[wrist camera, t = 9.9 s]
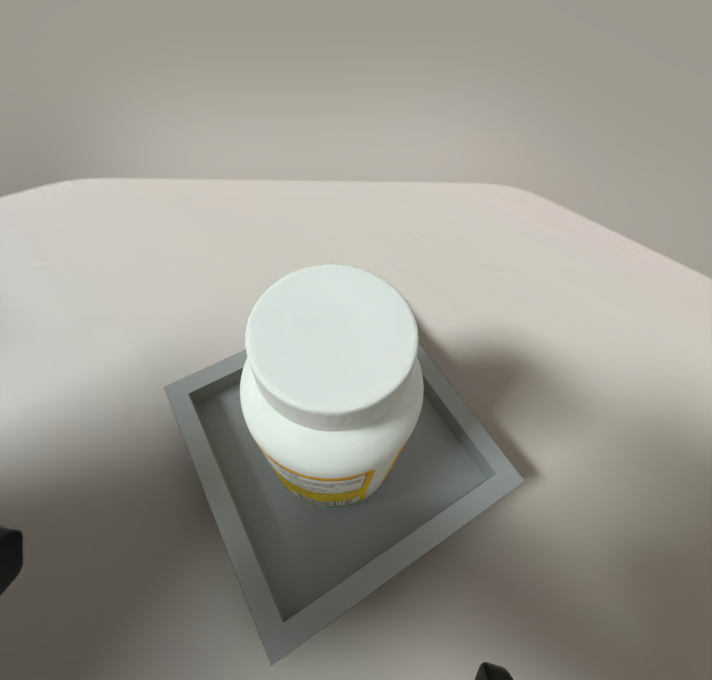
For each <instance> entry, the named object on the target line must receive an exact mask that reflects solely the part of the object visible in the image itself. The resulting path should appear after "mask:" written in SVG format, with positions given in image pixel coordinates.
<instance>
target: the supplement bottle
mask: <svg viewBox="0 0 712 680" xmlns="http://www.w3.org/2000/svg"><path fill="white" fill-rule="evenodd" d="M418 343H419V341H418V327H417V323H416V320H415V317H414V315H413V312H412V310H411V308H410V306H409V304H408V303H407V301H406V300H405V299H404V297H403V296H402V295H401V294H400V292H398V291H397V290H396V289H395V288H394V287H393V286H392V285H391V284H390V283H388V282H387V281H385V280H384V279H382V278H381V277H379V276H377V275H375V274H373V273H371V272H369V271H366V270H363V269H361V268H358V267H354V266H347V265H338V264H326V265H316V266H311V267H307V268H303V269H300V270H297V271H295V272H292V273H290V274H288V275H286V276H284V277H283V278H281V279H280V280H278V281H277V282H275V283H274V284H273V285H272V286H270V287H269V288H268V289H267V290H266V291H265V292H264V293H263V294H262V296H261V297H260V298H259V300H258V301H257V303H256V304H255V306H254V308H253V310H252V312H251V314H250V316H249V319H248V323H247V327H246V334H245V345H246V353H247V359H246V361H245V364H244V367H243V371H242V375H241V381H240V400H241V407H242V412H243V416H244V419H245V422H246V424H247V426H248V429H249V431H250V433H251V435H252V436H253V438H254V440H255V441H256V443H257V444H258V446H259V448H260V449H261V451H262V452H263V454H264V455H265V457H266V459H267V460H268V462H269V463H270V465H271V467H272V468H273V470H274V471H275V473H276V474H277V476H278V478H279V479H280V481H281V482H282V484H283V485H284V486H285V487H286V488H287V490H288V491H289V492H291V493H292V494H293V495H294V496H295V497H297V498H298V499H300V500H301V501H303V502H305V503H307V504H310V505H313V506H316V507H320V508H328V509H336V508H344V507H348V506H351V505H354V504H357V503H359V502H361V501H363V500H364V499H366V498H367V497H369V496H370V495H371V494H373V493H374V492H375V491H376V490H377V489H378V488H379V486H380V485H381V484H382V483H383V481H384V480H385V478H386V477H387V475H388V473H389V471H390V470H391V468H392V466H393V464H394V463H395V461H396V459H397V457H398V455H399V454H400V452H401V450H402V449H403V447H404V445H405V444H406V442H407V441H408V439H409V437H410V436H411V434H412V432H413V430H414V428H415V426H416V423H417V421H418V418H419V415H420V412H421V408H422V403H423V391H424V386H423V376H422V371H421V367H420V363H419V360H418V358H417V353H418Z"/></svg>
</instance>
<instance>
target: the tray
mask: <svg viewBox="0 0 712 680" xmlns="http://www.w3.org/2000/svg"><path fill="white" fill-rule="evenodd" d="M417 358H418V360H419V363H420V367H421V371H422V376H423V386H424V391H423V403H422V408H421V412H420V415H419V418H418V421H417V423H416V426H415V428H414V430H413V432H412V434H411V436H410V437H409V439H408V441H407V442H406V444H405V445H404V447H403V449H402V450H401V452H400V454H399V455H398V457H397V459H396V461H395V463H394V464H393V466H392V468H391V470H390V471H389V473H388V475H387V477H386V478H385V480H384V481H383V483H382V484H381V485H380V486H379V488H378V489H377V490H376V491H375V492H374V493H373V494H371V495H370V496H369V497H367V498H366V499H364V500H363V501H361V502H359V503H357V504H354V505H351V506H348V507H344V508H336V509H328V508H320V507H316V506H313V505H310V504H307V503H305V502H303V501H301V500H300V499H298V498H297V497H295V496H294V495H293V494H292V493H291V492H289V491H288V490H287V488H286V487H285V486H284V485H283V484H282V482H281V481H280V479H279V478H278V476H277V474H276V473H275V471H274V470H273V468H272V467H271V465H270V463H269V462H268V460H267V459H266V457H265V455H264V454H263V452H262V451H261V449H260V448H259V446H258V444H257V443H256V441H255V440H254V438H253V436H252V435H251V433H250V431H249V429H248V426H247V424H246V422H245V419H244V416H243V412H242V407H241V400H240V381H241V375H242V371H243V367H244V364H245V361H246V359H247V353H246V350H244V351H242V352H239V353H237V354H235V355H233V356H231V357H229V358H226V359H224V360H222V361H220V362H218V363H216V364H213V365H211V366H209V367H207V368H205V369H203V370H200V371H198V372H196V373H194V374H192V375H190V376H188V377H185V378H183V379H181V380H179V381H177V382H175V383H172V384H170V385H168V386H166V387H164V389H165V391H166V394H167V397H168V399H169V402H170V404H171V407H172V410H173V412H174V415H175V417H176V420H177V422H178V425H179V428H180V430H181V433H182V435H183V438H184V441H185V443H186V446H187V448H188V451H189V454H190V456H191V459H192V461H193V464H194V466H195V469H196V472H197V474H198V477H199V479H200V482H201V485H202V487H203V490H204V492H205V495H206V498H207V500H208V503H209V505H210V508H211V511H212V513H213V516H214V518H215V521H216V523H217V526H218V529H219V531H220V534H221V536H222V539H223V542H224V544H225V547H226V549H227V552H228V555H229V557H230V560H231V562H232V565H233V568H234V570H235V573H236V575H237V578H238V580H239V583H240V586H241V588H242V591H243V593H244V596H245V599H246V601H247V604H248V606H249V609H250V612H251V614H252V617H253V619H254V622H255V624H256V627H257V630H258V632H259V635H260V637H261V640H262V643H263V645H264V648H265V650H266V653H267V656H268V658H269V661H270V663H271V666H272V665H273V664H274V663H276V662H277V661H278V660H280V659H281V658H283V657H284V656H285V655H287V654H288V653H289V652H291V651H292V650H294V649H295V648H296V647H298V646H299V645H300V644H302V643H303V642H305V641H306V640H307V639H309V638H310V637H311V636H313V635H314V634H315V633H317V632H318V631H320V630H321V629H322V628H324V627H325V626H326V625H328V624H329V623H331V622H332V621H333V620H335V619H336V618H337V617H339V616H340V615H342V614H343V613H344V612H346V611H347V610H348V609H350V608H351V607H353V606H354V605H355V604H357V603H358V602H359V601H361V600H362V599H364V598H365V597H366V596H368V595H369V594H370V593H372V592H373V591H375V590H376V589H377V588H379V587H380V586H381V585H383V584H384V583H385V582H387V581H388V580H390V579H391V578H392V577H394V576H395V575H396V574H398V573H399V572H401V571H402V570H403V569H405V568H406V567H407V566H409V565H410V564H412V563H413V562H414V561H416V560H417V559H418V558H420V557H421V556H423V555H424V554H425V553H427V552H428V551H429V550H431V549H432V548H434V547H435V546H436V545H438V544H439V543H440V542H442V541H443V540H445V539H446V538H447V537H449V536H450V535H451V534H453V533H454V532H456V531H457V530H458V529H460V528H461V527H462V526H464V525H465V524H466V523H468V522H469V521H471V520H472V519H473V518H475V517H476V516H477V515H479V514H480V513H482V512H483V511H484V510H486V509H487V508H488V507H490V506H491V505H493V504H494V503H495V502H497V501H498V500H499V499H501V498H502V497H504V496H505V495H506V494H508V493H509V492H510V491H512V490H513V489H515V488H516V487H517V486H519V485H520V484H521V483H523V482H524V480H523V478H522V477H521V476H520V474H519V473H518V472H517V470H516V469H515V468H514V467H513V465H512V464H511V463H510V461H509V460H508V459H507V457H506V456H505V455H504V454H503V452H502V451H501V450H500V448H499V447H498V446H497V444H496V443H495V442H494V440H493V439H492V438H491V437H490V435H489V434H488V433H487V431H486V430H485V429H484V427H483V426H482V425H481V424H480V422H479V421H478V420H477V418H476V417H475V416H474V414H473V413H472V412H471V411H470V409H469V408H468V407H467V405H466V404H465V403H464V401H463V400H462V399H461V398H460V396H459V395H458V394H457V392H456V391H455V390H454V388H453V387H452V386H451V385H450V383H449V382H448V381H447V379H446V378H445V377H444V375H443V374H442V373H441V371H440V370H439V369H438V368H437V366H436V365H435V364H434V362H433V361H432V360H431V358H430V357H429V356H428V355H427V353H426V352H425V351H424V349H423V348H422V347H421V345H420V344H419V343H418V353H417Z"/></svg>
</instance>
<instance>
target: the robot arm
mask: <svg viewBox="0 0 712 680" xmlns="http://www.w3.org/2000/svg"><path fill="white" fill-rule="evenodd" d="M22 565H23V534H22V532H21V531H20V530H19V529H16V528H12V527H9V526H5V525H0V595H1V594H2V593H3V592H4V591H5V590H6V589H7V587H8V586H9V585H10V584H11V583H12V582H13V581H14V579H15V578H16V577H17V575H18V574H19V572H20V570H21V568H22ZM475 680H513V678H512V676H511V675H510V673H509V672H508V671H507V670H506V669H505V668H503V667H501V666H498V665H494V664H491V663H487V662H484V663H482V664H481V665H480V667H479V670H478V673H477V675H476V678H475Z"/></svg>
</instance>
